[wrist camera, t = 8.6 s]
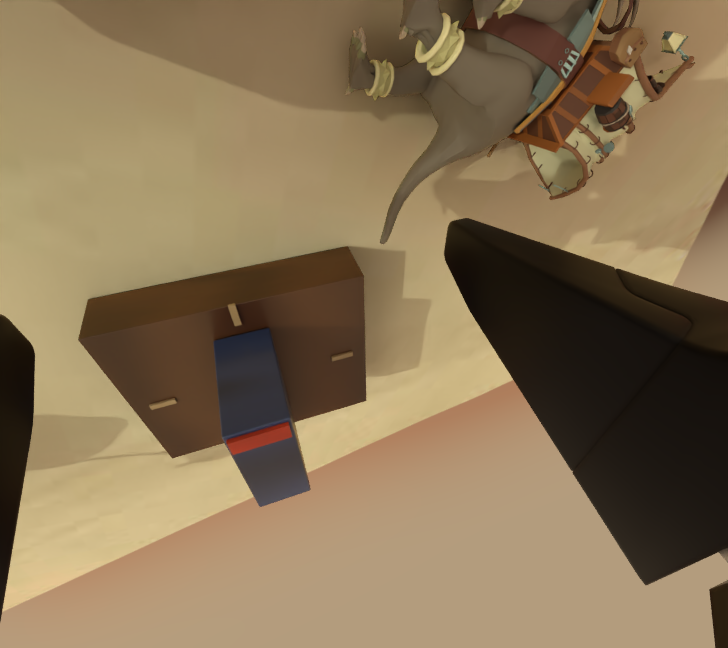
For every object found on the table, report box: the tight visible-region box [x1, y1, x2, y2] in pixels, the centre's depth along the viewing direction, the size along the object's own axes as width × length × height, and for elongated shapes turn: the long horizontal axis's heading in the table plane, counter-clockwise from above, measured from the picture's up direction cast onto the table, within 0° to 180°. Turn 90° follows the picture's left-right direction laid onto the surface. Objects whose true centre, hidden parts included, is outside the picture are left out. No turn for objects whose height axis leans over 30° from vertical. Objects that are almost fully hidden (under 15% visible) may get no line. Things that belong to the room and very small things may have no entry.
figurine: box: [345, 0, 695, 244], centre depth 17 cm, size 20×6×17 cm
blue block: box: [213, 328, 310, 507], centre depth 22 cm, size 8×3×6 cm, turn 2°
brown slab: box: [78, 247, 366, 458], centre depth 25 cm, size 14×12×3 cm
